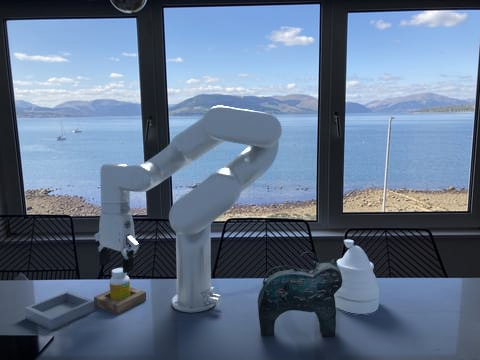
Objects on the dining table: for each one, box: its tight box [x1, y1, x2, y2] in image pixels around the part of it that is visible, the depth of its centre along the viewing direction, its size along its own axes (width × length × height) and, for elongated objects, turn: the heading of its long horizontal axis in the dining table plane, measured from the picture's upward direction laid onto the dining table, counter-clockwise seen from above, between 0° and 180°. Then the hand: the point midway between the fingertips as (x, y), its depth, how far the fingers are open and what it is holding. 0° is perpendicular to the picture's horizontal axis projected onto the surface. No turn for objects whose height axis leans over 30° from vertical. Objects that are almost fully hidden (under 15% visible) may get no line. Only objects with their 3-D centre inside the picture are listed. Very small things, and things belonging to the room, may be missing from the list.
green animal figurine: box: [257, 251, 343, 338], centre depth 84 cm, size 20×6×20 cm, turn 90°
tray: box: [24, 290, 96, 332], centre depth 94 cm, size 12×12×3 cm
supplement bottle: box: [109, 267, 131, 301], centre depth 101 cm, size 5×5×10 cm
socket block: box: [93, 286, 147, 315], centre depth 101 cm, size 10×10×2 cm
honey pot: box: [334, 239, 380, 315], centre depth 99 cm, size 13×13×18 cm
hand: (116, 267), depth 100 cm, fingers open, 9 cm apart
